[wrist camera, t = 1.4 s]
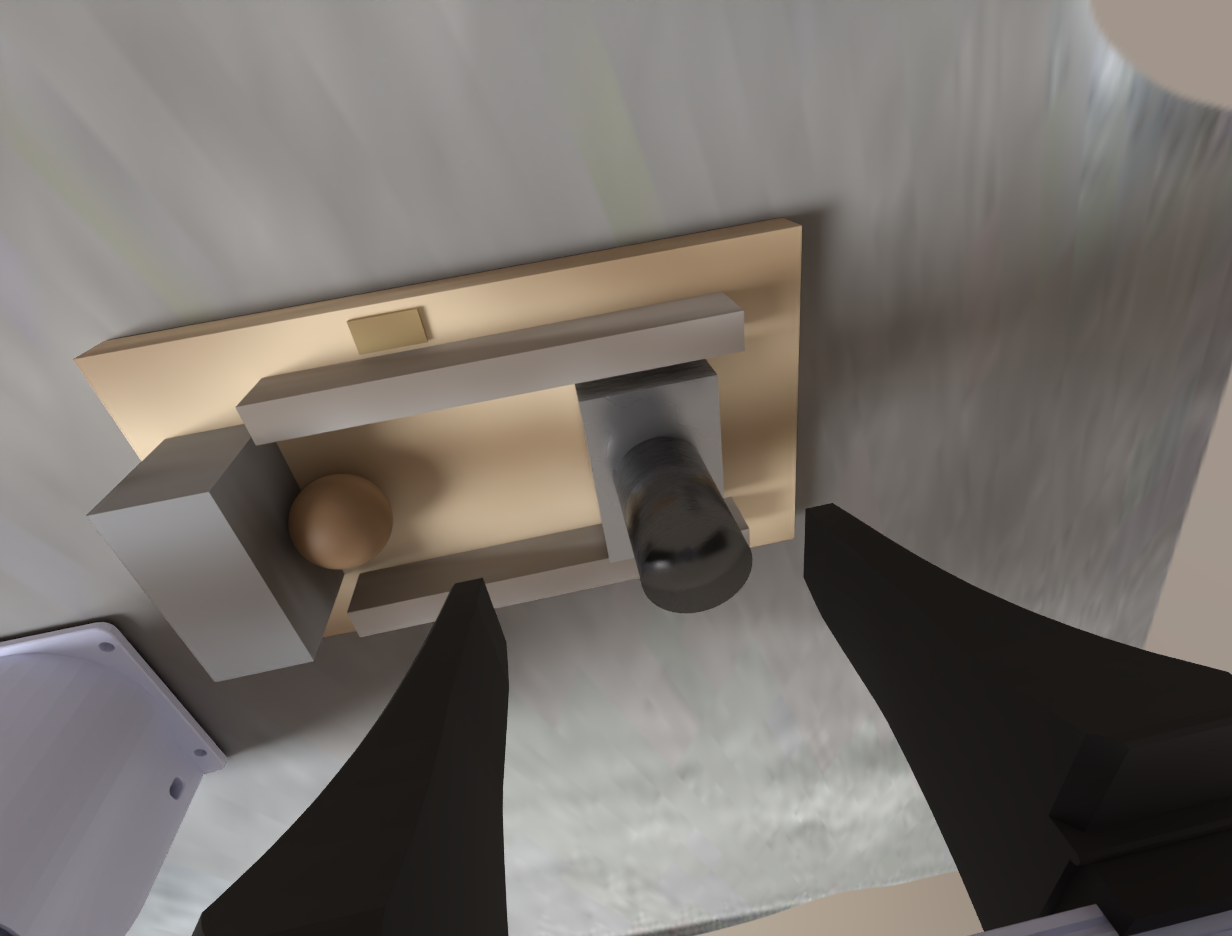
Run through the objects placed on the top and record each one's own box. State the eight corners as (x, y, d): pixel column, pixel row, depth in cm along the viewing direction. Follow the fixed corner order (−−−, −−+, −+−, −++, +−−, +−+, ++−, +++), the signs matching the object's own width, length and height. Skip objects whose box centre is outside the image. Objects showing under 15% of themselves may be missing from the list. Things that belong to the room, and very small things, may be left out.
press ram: (706, 498, 22) (775, 637, 16) (600, 520, 22) (632, 668, 16) (695, 346, 19) (776, 451, 13) (571, 369, 19) (598, 487, 13)
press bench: (780, 516, 25) (840, 609, 21) (280, 620, 24) (226, 743, 20) (782, 217, 19) (870, 254, 14) (103, 341, 18) (-39, 425, 13)
